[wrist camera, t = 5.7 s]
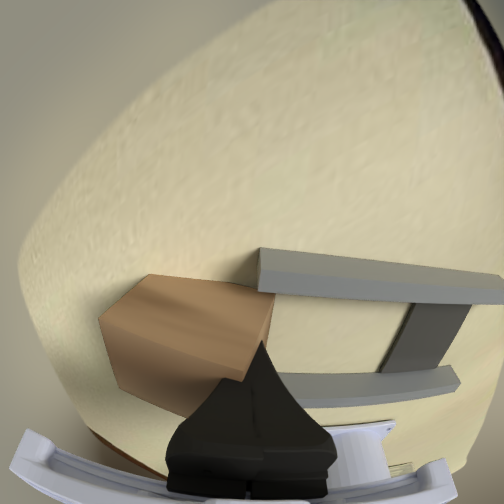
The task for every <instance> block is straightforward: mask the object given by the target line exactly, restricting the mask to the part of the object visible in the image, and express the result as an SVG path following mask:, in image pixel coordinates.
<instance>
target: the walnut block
mask: <svg viewBox="0 0 504 504" xmlns="http://www.w3.org/2000/svg"><path fill="white" fill-rule="evenodd" d="M275 294H276V293H269V292H259V291H258V289H254V288H250V287H246V286H242V285H238V284H233V283H229V282H221V281H210V280H201V279H191V278H181V277H172V276H163V275H155V274H149V275H148V276H147V277H146V278H144V279H143V280H142V281H141V282H140V283H138V284H137V285H136V286H135V287H134V288H132V289H131V290H130V291H129V292H128V293H127V294H125V295H124V296H123V297H122V298H121V299H120V300H118V301H117V302H116V303H115V304H114V305H113V306H112V307H110V308H109V309H108V310H107V311H106V312H105V313H104V314H102V315H101V316H100V317H99V318H98V320H99V324H100V328H101V331H102V335H103V339H104V342H105V346H106V349H107V353H108V356H109V359H110V362H111V366H112V369H113V372H114V375H115V378H116V381H117V383H118V386H119V388H120V389H122V390H124V391H126V392H128V393H130V394H132V395H134V396H136V397H138V398H140V399H142V400H145V401H147V402H149V403H151V404H153V405H156V406H158V407H160V408H163V409H165V410H167V411H170V412H172V413H175V414H177V415H180V416H182V417H185V418H188V417H189V416H190V415H191V414H193V413H194V412H195V411H196V410H197V408H198V407H199V406H200V405H201V404H202V403H203V402H204V401H205V400H206V399H207V398H208V396H209V395H210V394H211V393H212V391H213V390H214V389H215V388H216V386H217V385H218V383H219V382H220V381H221V379H222V378H229V379H233V380H236V381H240V382H242V381H243V379H244V377H245V375H246V373H247V371H248V368H249V366H250V364H251V362H252V359H253V357H254V355H255V353H256V351H257V348H258V346H259V344H260V342H261V340H263V343H264V346H265V348H266V345H267V339H268V334H269V328H270V323H271V317H272V312H273V306H274V300H275Z"/></svg>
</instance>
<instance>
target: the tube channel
mask: <svg viewBox="0 0 504 504" xmlns="http://www.w3.org/2000/svg"><path fill="white" fill-rule="evenodd" d="M257 282H258V291H259V292H269V293H279V294H291V295H302V296H314V297H327V298H341V299H356V300H372V301H390V302H411V303H413V304H412V307H411V309H410V311H409V313H408V315H407V318H406V320H405V322H404V324H403V326H402V328H401V330H400V332H399V334H398V336H397V338H396V340H395V342H394V344H393V346H392V348H391V350H390V352H389V354H388V356H387V357H386V359H385V361H384V363H383V365H382V366H381V368H380V370H379V371H380V372H378V373H354V374H300V373H278V375H279V377H280V379H281V380H282V382H283V383H284V385H285V386H286V388H287V389H288V391H289V392H290V393H291V395H292V396H293V397H294V399H295V400H296V401H297V402H298V404H299V405H300V406H301V407H302V408H336V407H353V406H366V405H377V404H386V403H394V402H401V401H408V400H415V399H421V398H426V397H432V396H437V395H442V394H447V393H451V392H455V390H456V389H457V388H458V387H459V385H460V384H461V382H460V380H459V378H458V377H457V375H456V373H455V372H454V370H453V368H452V367H451V365H449V366H442V367H437V366H438V364H439V363H440V361H441V359H442V358H443V356H444V355H445V353H446V351H447V350H448V348H449V346H450V345H451V343H452V341H453V340H454V338H455V336H456V334H457V333H458V331H459V329H460V327H461V325H462V324H463V322H464V320H465V318H466V316H467V314H468V312H469V310H470V308H471V306H472V304H487V305H504V279H503V278H501V277H500V276H499V275H492V274H484V273H476V272H468V271H459V270H451V269H443V268H435V267H426V266H418V265H409V264H401V263H392V262H384V261H375V260H367V259H358V258H349V257H340V256H332V255H323V254H314V253H305V252H296V251H287V250H279V249H270V248H260V251H259V257H258V264H257Z"/></svg>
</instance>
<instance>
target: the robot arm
mask: <svg viewBox="0 0 504 504" xmlns="http://www.w3.org/2000/svg"><path fill="white" fill-rule="evenodd" d="M395 425H396V422H395V420H390V421H383V422H376V423H368V424H359V425H348V426H335V427H321V426H320V425H319V424H318V423H317V422H316V421H315V420H313V419H312V418H311V417H310V416H309V415H308V414H307V412H306V411H305V410H304V409H303V408H302V407H301V406H300V405H299V404H298V402H297V401H296V400H295V399H294V397H293V396H292V395H291V393H290V392H289V391H288V389H287V388H286V386H285V385H284V383H283V382H282V380H281V379H280V377H279V375H278V373H277V372H276V370H275V368H274V366H273V364H272V362H271V360H270V358H269V356H268V353H267V351H266V348H265V346H264V343H263V340H261V342H260V344H259V346H258V348H257V351H256V353H255V355H254V357H253V359H252V362H251V364H250V366H249V368H248V371H247V373H246V375H245V377H244V379H243V381H242V382H240V381H236V380H233V379H229V378H222V379H221V381H220V382H219V383H218V385H217V386H216V388H215V389H214V390H213V391H212V393H211V394H210V395H209V396H208V398H207V399H206V400H205V401H204V402H203V403H202V404H201V405H200V406H199V407H198V408H197V410H196V411H195V412H194V413H193V414H191V415H190V416H189V417H188V418H187V419H186V420H185V421H183V422H182V423H181V424H180V425H179V426H178V428H177V429H176V431H175V433H174V434H173V436H172V438H171V440H170V442H169V444H168V447H167V451H166V457H165V461H166V464H167V467H168V470H169V474H168V479H167V482H165V481H160V480H155V479H150V478H146V477H142V476H138V475H134V474H131V473H127V472H123V471H120V470H117V469H113V468H110V467H107V466H104V465H101V464H98V463H95V462H92V461H90V460H87V459H84V458H82V457H79V456H76V455H74V454H71V453H69V452H67V451H64V450H62V449H60V448H57V447H56V445H55V444H54V443H53V442H52V441H51V440H50V439H48V438H47V437H45V436H43V435H41V434H39V433H37V432H35V431H33V430H31V429H29V428H27V429H26V431H25V433H24V435H23V437H22V439H21V441H20V444H19V446H18V448H17V450H16V453H15V455H14V457H13V459H12V462H11V464H10V467H9V469H10V470H11V471H12V472H13V473H15V474H16V475H17V476H19V477H20V478H21V479H23V480H24V481H25V482H27V483H28V484H29V485H31V486H32V487H34V488H35V489H37V490H39V491H41V492H42V493H44V494H46V495H48V496H50V497H52V498H54V499H56V500H58V501H60V502H62V503H64V504H445V503H447V502H449V501H451V500H452V499H454V498H456V497H457V491H456V488H455V485H454V482H453V479H452V476H451V473H450V470H449V467H448V465H447V462H446V459H445V458H441V459H438V460H435V461H432V462H429V463H427V464H425V465H423V466H421V467H420V468H419V469H418V470H417V471H415V472H412V473H408V474H404V475H401V476H397V477H393V478H391V475H390V471H389V468H388V464H387V461H386V457H385V454H384V450H383V447H382V443H381V441H382V440H383V439H384V438H385V437H386V436H387V435H388V433H389V432H390V431H391V430H392V429H393V428H394V427H395Z"/></svg>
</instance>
